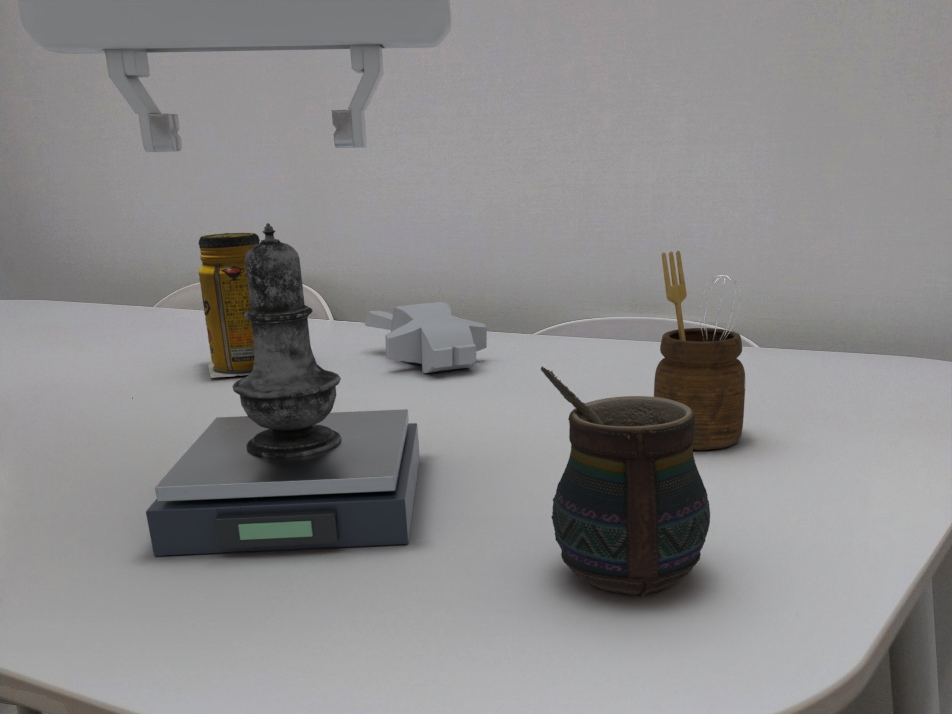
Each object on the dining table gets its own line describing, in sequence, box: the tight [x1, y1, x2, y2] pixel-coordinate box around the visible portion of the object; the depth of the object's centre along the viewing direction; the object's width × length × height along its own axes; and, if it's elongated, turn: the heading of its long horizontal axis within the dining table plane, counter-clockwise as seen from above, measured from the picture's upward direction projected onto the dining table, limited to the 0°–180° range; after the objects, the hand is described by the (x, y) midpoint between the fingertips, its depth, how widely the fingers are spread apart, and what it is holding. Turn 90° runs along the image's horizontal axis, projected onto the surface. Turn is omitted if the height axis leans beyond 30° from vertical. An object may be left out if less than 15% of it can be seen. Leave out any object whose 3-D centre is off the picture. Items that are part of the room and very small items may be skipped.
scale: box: [145, 422, 421, 557], centre depth 55 cm, size 13×15×2 cm
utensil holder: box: [653, 250, 746, 451], centre depth 63 cm, size 6×6×12 cm
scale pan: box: [154, 408, 410, 502], centre depth 55 cm, size 12×13×1 cm
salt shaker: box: [232, 222, 342, 458], centre depth 53 cm, size 6×6×12 cm
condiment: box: [198, 232, 261, 379], centre depth 88 cm, size 7×8×12 cm
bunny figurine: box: [364, 301, 488, 374], centre depth 90 cm, size 10×5×15 cm
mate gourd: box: [540, 366, 711, 598], centre depth 44 cm, size 7×8×10 cm
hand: (257, 150), depth 49 cm, fingers open, 8 cm apart
